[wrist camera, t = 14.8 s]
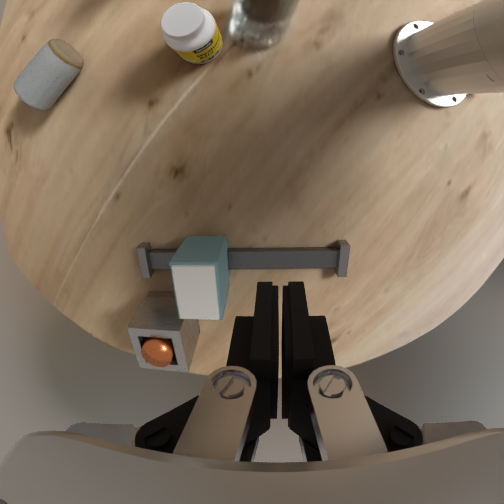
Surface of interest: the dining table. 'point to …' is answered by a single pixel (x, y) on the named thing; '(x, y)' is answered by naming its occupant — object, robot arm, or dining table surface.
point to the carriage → (201, 277)
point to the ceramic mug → (48, 74)
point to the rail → (258, 258)
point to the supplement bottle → (191, 32)
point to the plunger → (158, 351)
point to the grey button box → (164, 330)
